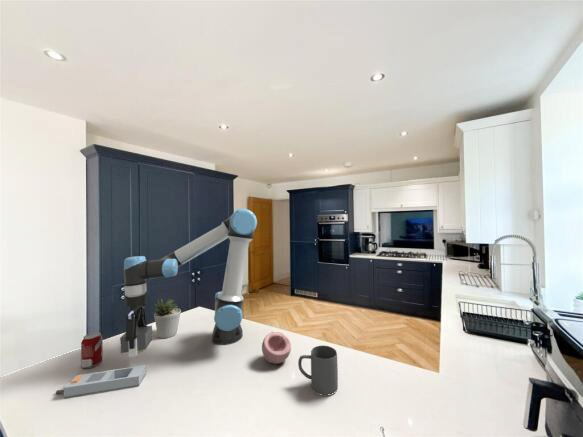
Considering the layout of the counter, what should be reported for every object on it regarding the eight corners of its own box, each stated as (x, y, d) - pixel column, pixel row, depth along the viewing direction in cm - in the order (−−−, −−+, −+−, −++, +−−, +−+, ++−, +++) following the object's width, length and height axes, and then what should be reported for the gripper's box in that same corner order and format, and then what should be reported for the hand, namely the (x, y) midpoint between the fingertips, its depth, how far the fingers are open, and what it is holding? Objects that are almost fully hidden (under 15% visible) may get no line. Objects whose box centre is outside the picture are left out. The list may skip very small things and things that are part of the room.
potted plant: (158, 330, 129) (158, 293, 130) (184, 328, 130) (184, 292, 131) (146, 341, 116) (146, 300, 117) (175, 339, 118) (175, 299, 119)
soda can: (90, 370, 93) (90, 339, 94) (76, 368, 95) (76, 338, 95) (106, 360, 100) (106, 332, 100) (93, 359, 101) (93, 331, 102)
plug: (152, 344, 102) (152, 325, 102) (145, 354, 93) (145, 334, 94) (129, 347, 99) (129, 328, 100) (120, 358, 91) (120, 337, 91)
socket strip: (145, 374, 90) (145, 363, 90) (138, 386, 84) (138, 374, 84) (63, 387, 84) (63, 375, 84) (48, 401, 77) (49, 388, 77)
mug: (337, 379, 85) (336, 346, 86) (338, 398, 76) (337, 360, 77) (300, 376, 87) (299, 343, 88) (296, 393, 78) (296, 357, 79)
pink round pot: (273, 374, 89) (273, 343, 89) (256, 361, 98) (256, 333, 98) (297, 361, 97) (296, 333, 97) (279, 350, 106) (278, 324, 106)
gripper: (135, 288, 106) (137, 339, 106) (112, 303, 86) (114, 366, 85) (154, 287, 108) (155, 336, 108) (136, 301, 88) (138, 362, 87)
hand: (137, 350), depth 96 cm, fingers closed on plug, 8 cm apart
